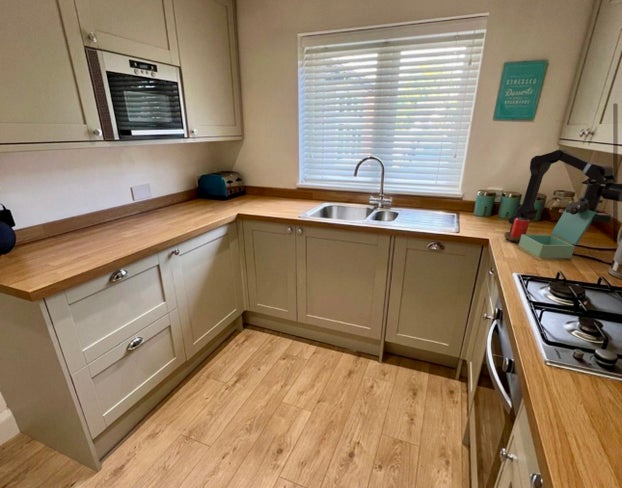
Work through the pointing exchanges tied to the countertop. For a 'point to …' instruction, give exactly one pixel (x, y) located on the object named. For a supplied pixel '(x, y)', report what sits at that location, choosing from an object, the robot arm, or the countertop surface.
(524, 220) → the can
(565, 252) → the green hinged box
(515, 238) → the stool
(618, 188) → the robot arm
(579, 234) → the lid
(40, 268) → the countertop surface
